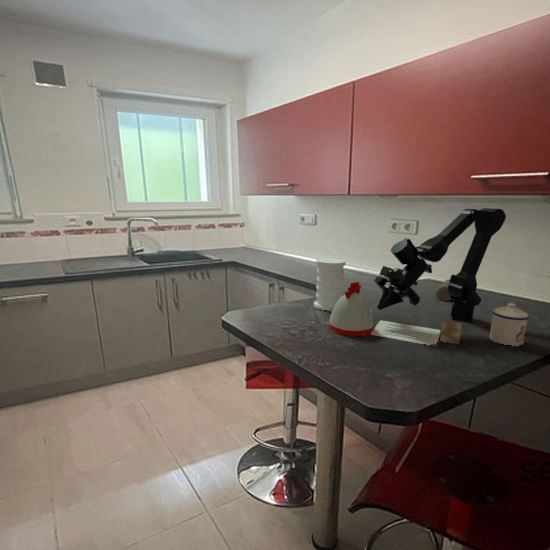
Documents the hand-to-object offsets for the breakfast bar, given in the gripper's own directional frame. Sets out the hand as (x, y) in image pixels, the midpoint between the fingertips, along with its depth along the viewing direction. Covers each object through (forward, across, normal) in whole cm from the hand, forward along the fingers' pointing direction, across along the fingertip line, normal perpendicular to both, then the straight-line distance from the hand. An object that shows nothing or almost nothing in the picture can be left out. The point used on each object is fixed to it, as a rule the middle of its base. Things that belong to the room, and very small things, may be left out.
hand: (378, 308), depth 119 cm
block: (-6, +16, +15) cm, 23 cm away
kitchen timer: (+11, 0, -2) cm, 11 cm away
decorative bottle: (-32, -28, +43) cm, 60 cm away
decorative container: (+9, -24, 0) cm, 26 cm away
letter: (0, +7, +8) cm, 11 cm away
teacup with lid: (-18, +19, +28) cm, 38 cm away
